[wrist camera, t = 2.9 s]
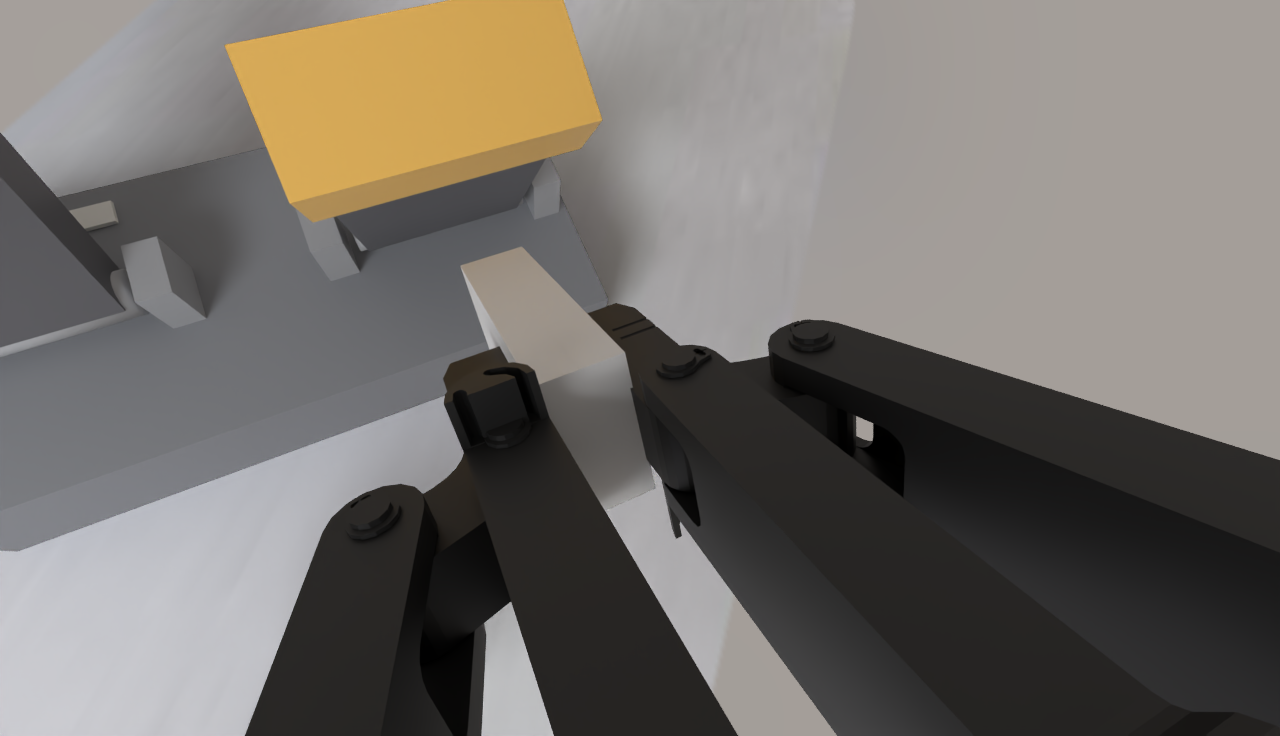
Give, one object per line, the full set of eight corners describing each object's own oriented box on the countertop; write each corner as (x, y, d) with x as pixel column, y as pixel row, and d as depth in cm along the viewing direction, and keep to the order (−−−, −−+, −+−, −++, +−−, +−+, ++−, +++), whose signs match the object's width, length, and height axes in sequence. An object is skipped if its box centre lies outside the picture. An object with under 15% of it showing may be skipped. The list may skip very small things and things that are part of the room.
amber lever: (525, 222, 29) (602, 119, 15) (370, 269, 27) (289, 203, 13) (500, 153, 28) (556, -22, 14) (340, 196, 26) (224, 45, 12)
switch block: (17, 551, 26) (-179, 541, 19) (-30, 300, 29) (-216, 209, 21) (598, 339, 33) (614, 273, 26) (514, 153, 35) (508, 47, 28)
